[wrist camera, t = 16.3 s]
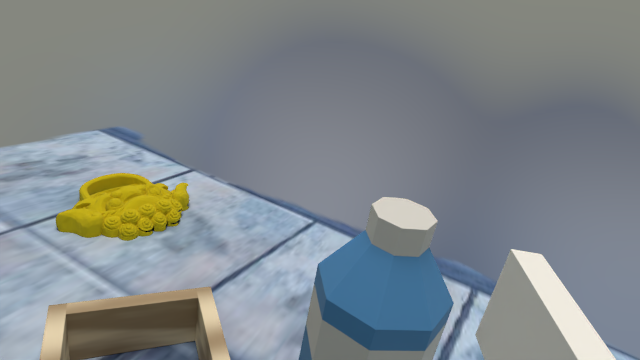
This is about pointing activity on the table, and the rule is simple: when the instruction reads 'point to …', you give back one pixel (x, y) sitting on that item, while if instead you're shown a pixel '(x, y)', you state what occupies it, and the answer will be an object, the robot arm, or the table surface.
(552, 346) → the robot arm
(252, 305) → the table surface
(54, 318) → the holder collar
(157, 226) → the door knocker
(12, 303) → the table surface
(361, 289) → the water bottle
